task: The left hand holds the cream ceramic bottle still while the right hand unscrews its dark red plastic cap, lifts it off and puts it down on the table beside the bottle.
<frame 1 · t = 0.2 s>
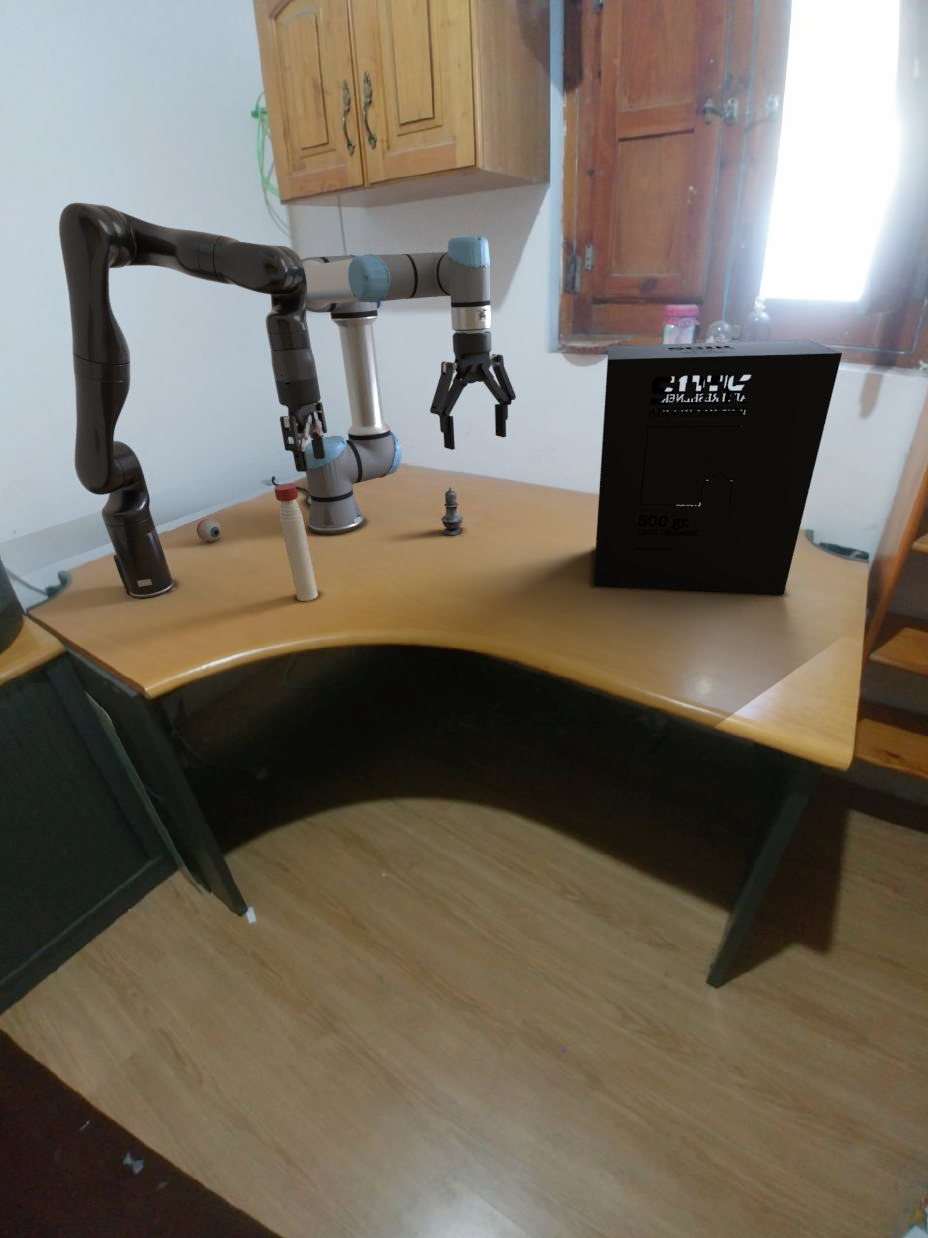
left hand: (311, 464, 117), 29 cm above the table, tool pointing down, fingers open, 8 cm apart
right hand: (475, 442, 127), 29 cm above the table, tool pointing down, fingers open, 13 cm apart
eyeball: (212, 541, 164), on the table
bottle: (307, 596, 132), on the table
salt shaker: (453, 531, 161), on the table
cardboard box: (680, 569, 134), on the table
cap: (285, 488, 120), point 24 cm above the table, screwed on, not yet turned
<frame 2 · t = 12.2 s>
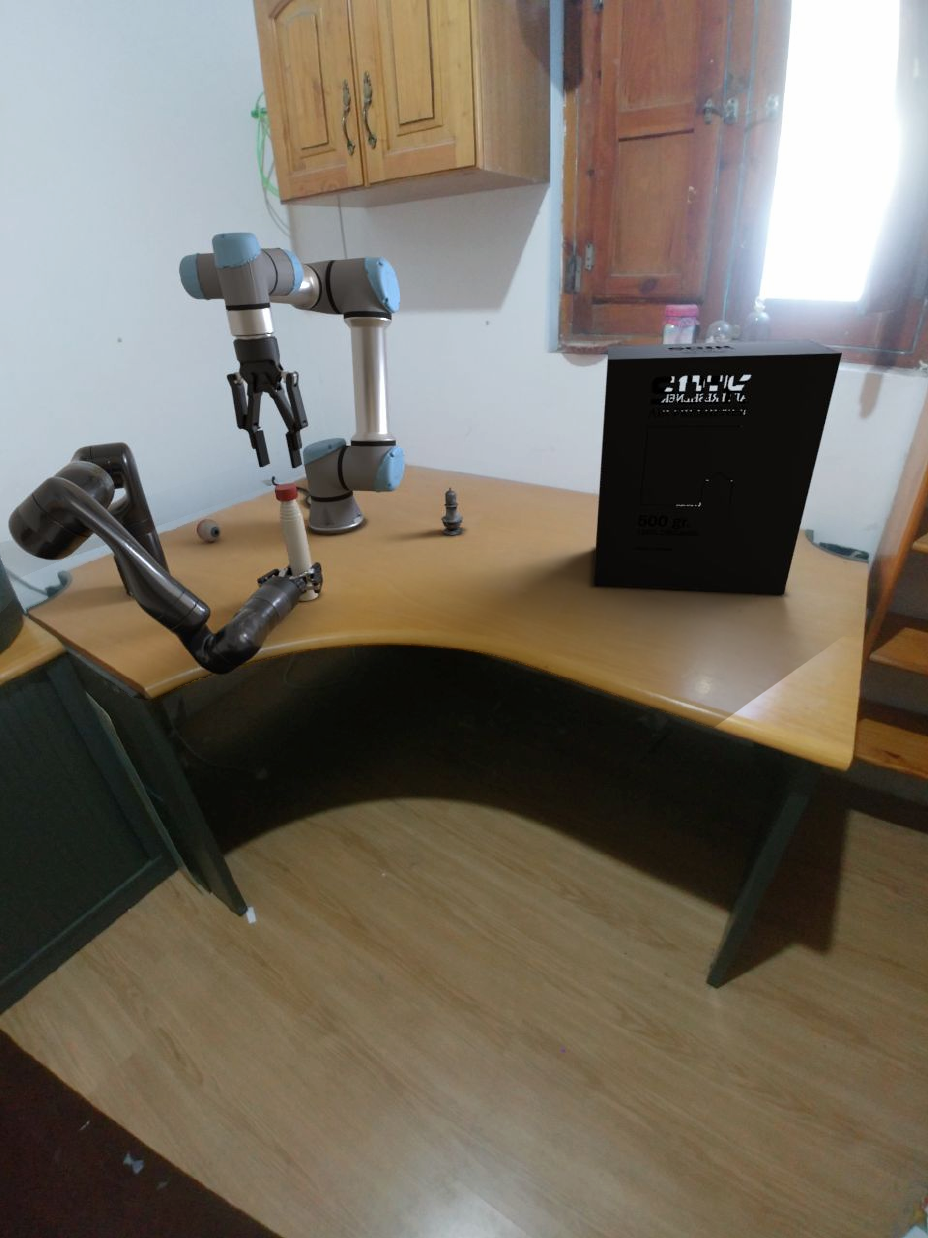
left hand: (307, 565, 132), 6 cm above the table, tool horizontal, fingers closed on bottle, 4 cm apart
right hand: (280, 465, 118), 29 cm above the table, tool pointing down, fingers open, 6 cm apart
bottle: (307, 596, 132), on the table, touching left hand
everything else where it was.
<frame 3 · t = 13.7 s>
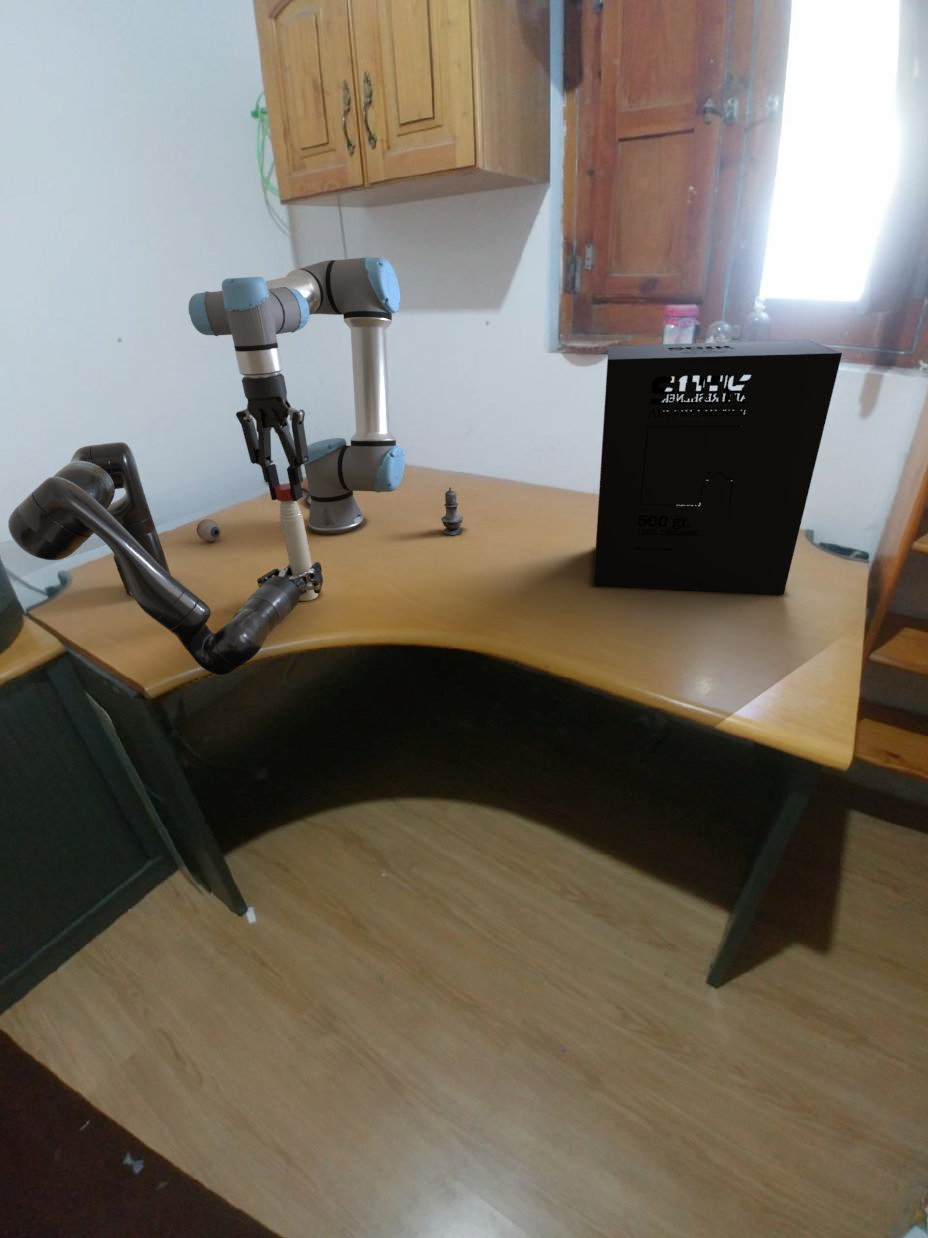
left hand: (307, 565, 132), 6 cm above the table, tool horizontal, fingers closed on bottle, 4 cm apart
right hand: (287, 498, 121), 22 cm above the table, tool pointing down, fingers closed on cap, 4 cm apart
bottle: (307, 596, 132), on the table, touching left hand
cap: (285, 488, 120), point 24 cm above the table, screwed on, not yet turned, touching right hand
everything else where it was.
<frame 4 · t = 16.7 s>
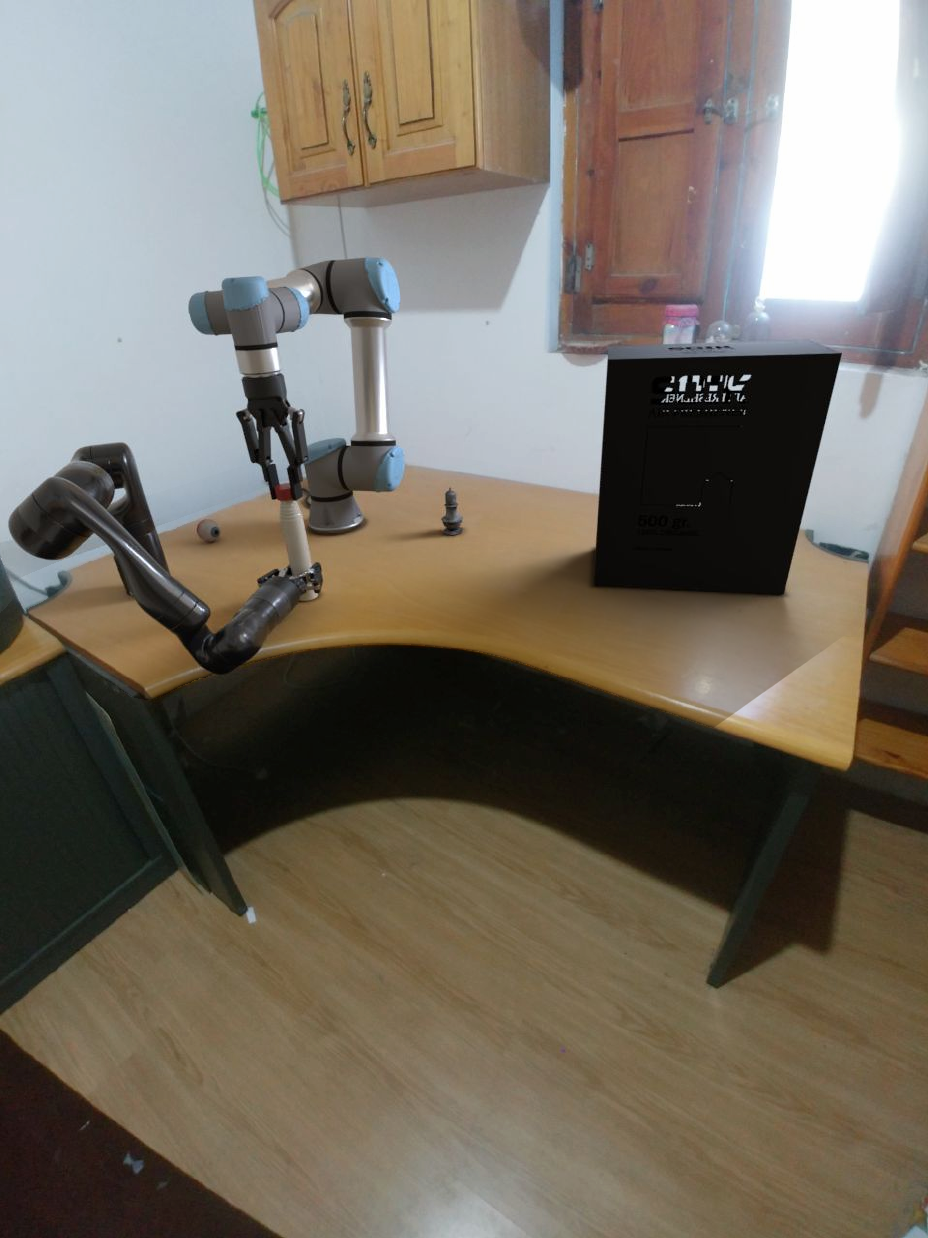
left hand: (307, 565, 132), 6 cm above the table, tool horizontal, fingers closed on bottle, 4 cm apart
right hand: (287, 497, 121), 22 cm above the table, tool pointing down, fingers closed on cap, 4 cm apart
bottle: (307, 596, 132), on the table, touching left hand
cap: (285, 487, 120), point 25 cm above the table, turned 96° so far, risen 0.1 cm, still on its thread, touching right hand
everything else where it was.
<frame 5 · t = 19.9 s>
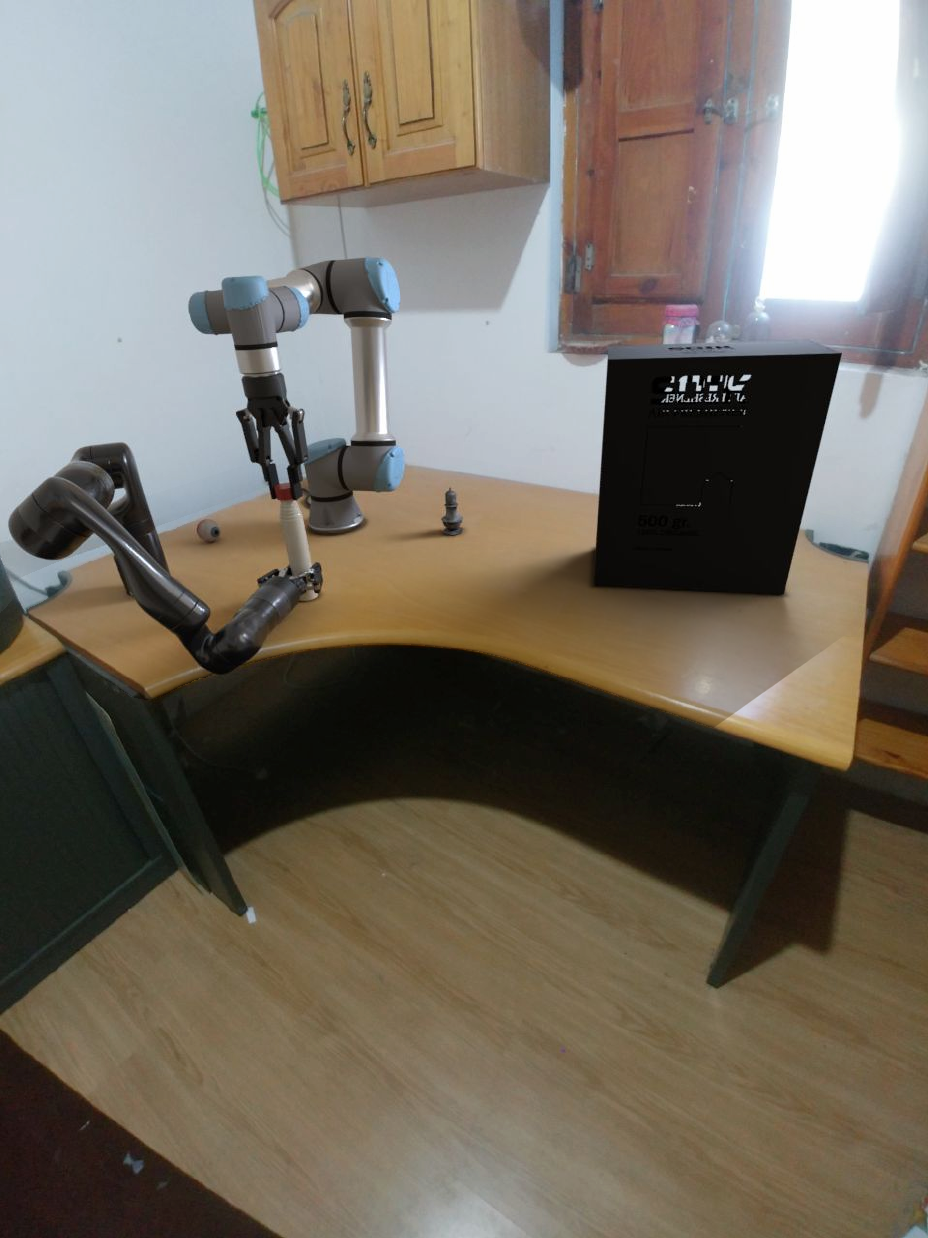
left hand: (307, 565, 132), 6 cm above the table, tool horizontal, fingers closed on bottle, 4 cm apart
right hand: (287, 497, 121), 23 cm above the table, tool pointing down, fingers closed on cap, 4 cm apart
bottle: (307, 596, 132), on the table, touching left hand
cap: (285, 487, 120), point 25 cm above the table, turned 191° so far, risen 0.2 cm, still on its thread, touching right hand
everything else where it was.
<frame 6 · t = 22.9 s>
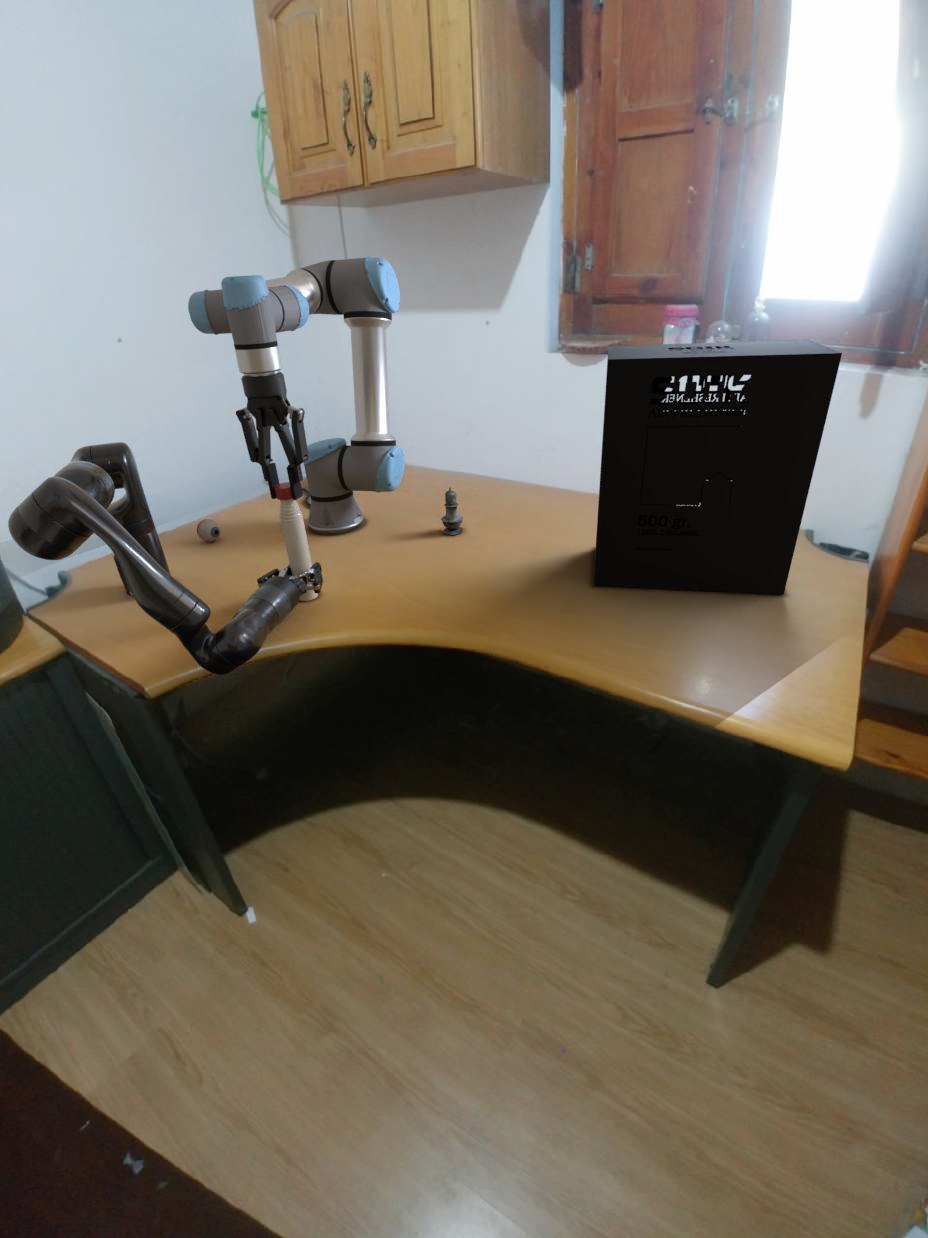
left hand: (307, 565, 132), 6 cm above the table, tool horizontal, fingers closed on bottle, 4 cm apart
right hand: (287, 496, 121), 23 cm above the table, tool pointing down, fingers closed on cap, 4 cm apart
bottle: (307, 596, 132), on the table, touching left hand
cap: (285, 486, 120), point 25 cm above the table, turned 287° so far, risen 0.2 cm, still on its thread, touching right hand
everything else where it was.
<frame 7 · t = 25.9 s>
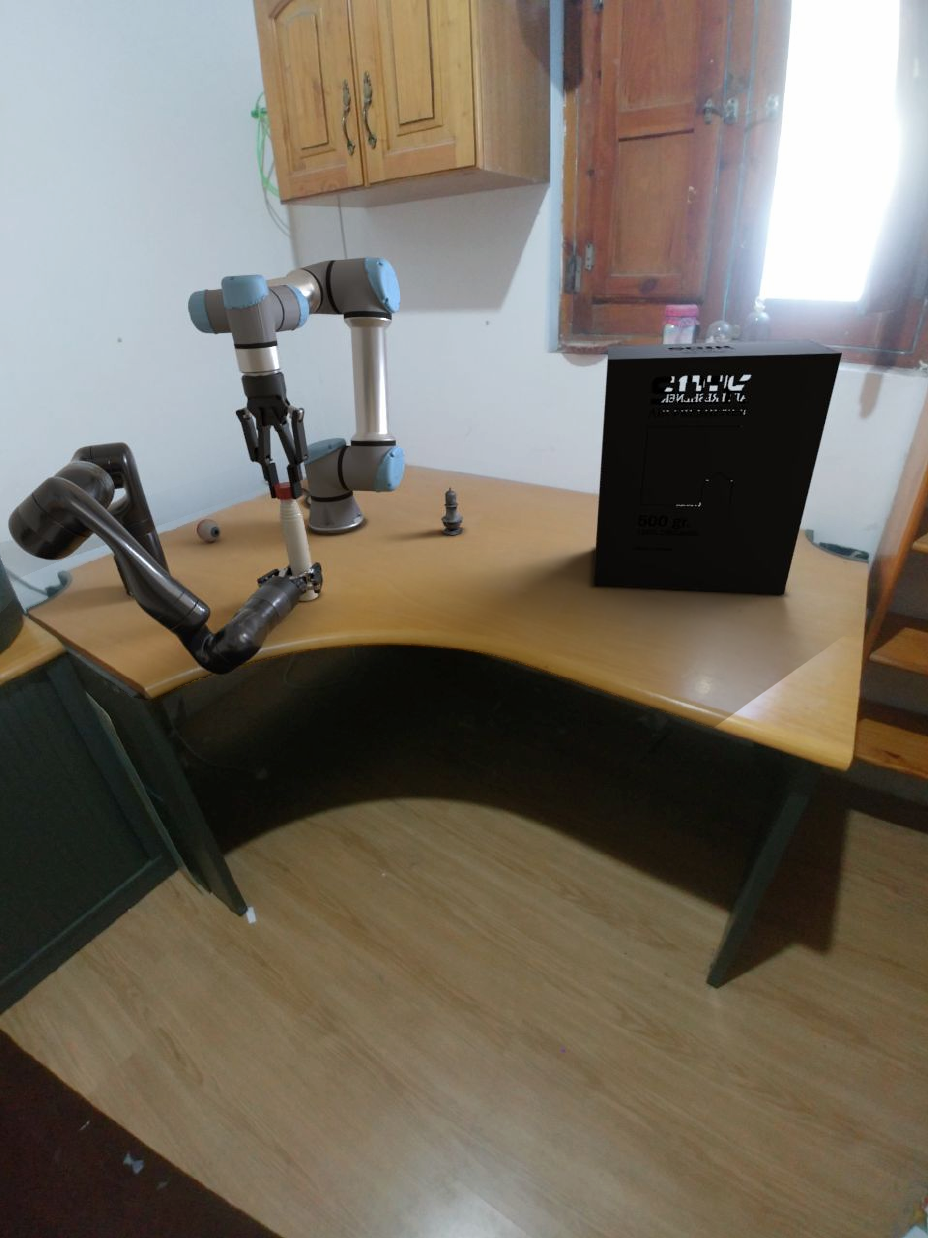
left hand: (307, 565, 132), 6 cm above the table, tool horizontal, fingers closed on bottle, 4 cm apart
right hand: (287, 496, 121), 23 cm above the table, tool pointing down, fingers closed on cap, 4 cm apart
bottle: (307, 596, 132), on the table, touching left hand
cap: (285, 486, 120), point 25 cm above the table, turned 382° so far, risen 0.3 cm, still on its thread, touching right hand
everything else where it was.
when the right hand's fingers open (2 cm above the table, at t = 32.8 s): cap drops 2 cm, point 2 cm above the table.
when the left hand's fingers open (6 cm above the table, at t = 34.1 s): bottle stays where it is, on the table.
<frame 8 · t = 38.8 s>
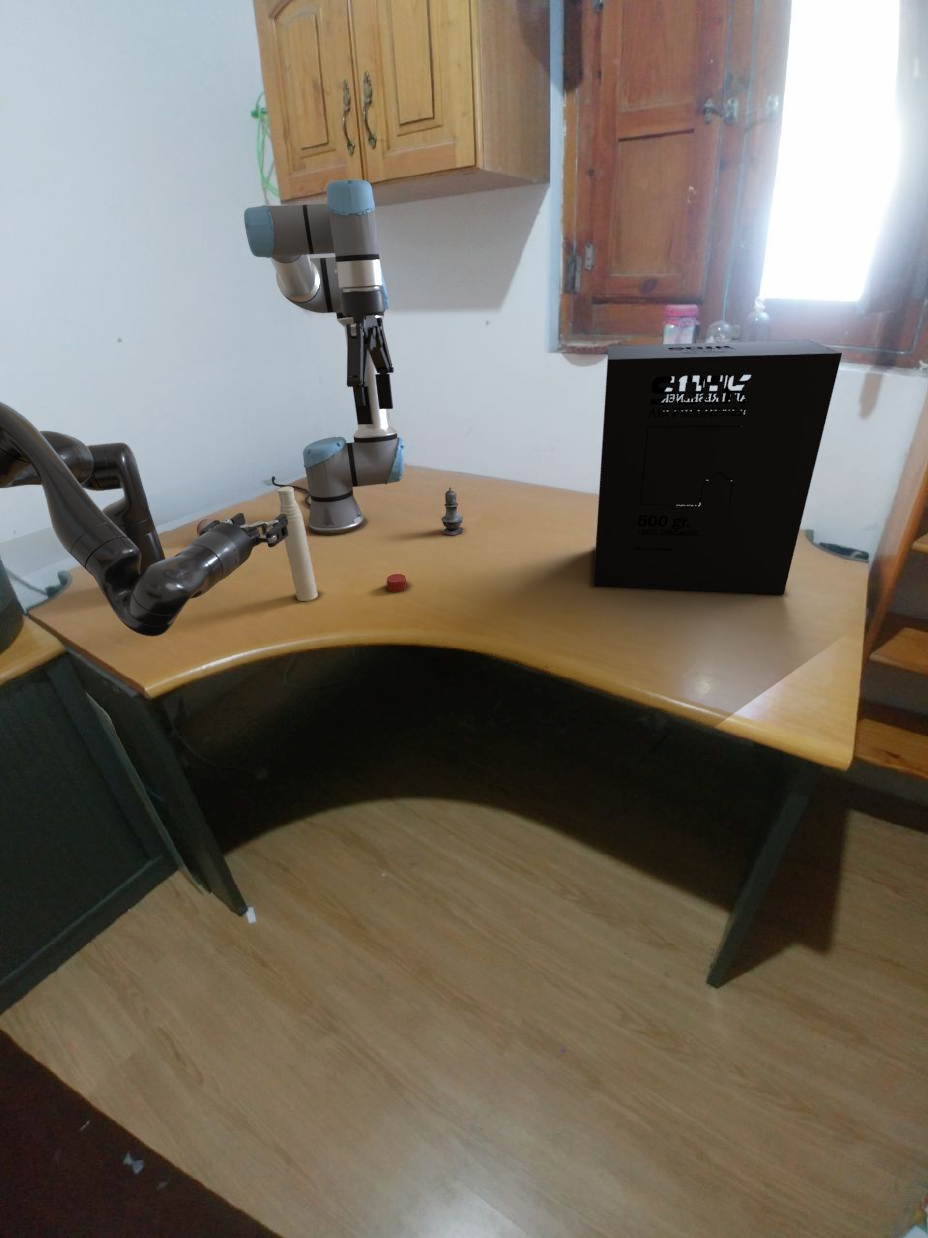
left hand: (263, 518, 112), 22 cm above the table, tool horizontal, fingers open, 8 cm apart
right hand: (376, 416, 115), 37 cm above the table, tool pointing down, fingers open, 13 cm apart
bottle: (307, 596, 132), on the table
cap: (396, 579, 133), point 2 cm above the table, off its thread
everything else where it was.
at the end: cap came off its thread; cap point 2.0 cm above the table; the left hand is holding nothing; the right hand is holding nothing; bottle tilted 0°; bottle moved 0.1 cm from its start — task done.
